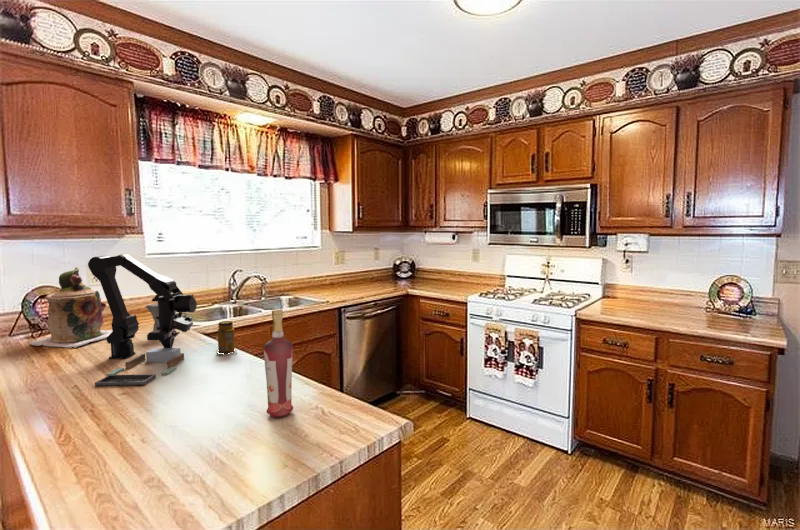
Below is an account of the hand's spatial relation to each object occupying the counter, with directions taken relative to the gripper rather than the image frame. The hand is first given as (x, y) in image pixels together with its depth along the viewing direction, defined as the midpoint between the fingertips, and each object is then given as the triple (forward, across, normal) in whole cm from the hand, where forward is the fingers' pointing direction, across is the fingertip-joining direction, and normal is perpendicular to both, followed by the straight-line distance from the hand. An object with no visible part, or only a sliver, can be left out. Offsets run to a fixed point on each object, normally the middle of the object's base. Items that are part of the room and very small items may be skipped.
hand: (169, 352), depth 160 cm
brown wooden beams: (+2, -9, 0) cm, 10 cm away
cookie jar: (+2, +27, +53) cm, 59 cm away
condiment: (+2, +4, -20) cm, 21 cm away
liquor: (+2, -53, -54) cm, 76 cm away
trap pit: (+2, -27, 0) cm, 27 cm away
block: (+2, -4, 0) cm, 4 cm away
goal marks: (+2, -18, 0) cm, 18 cm away
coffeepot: (+2, +30, +16) cm, 34 cm away
